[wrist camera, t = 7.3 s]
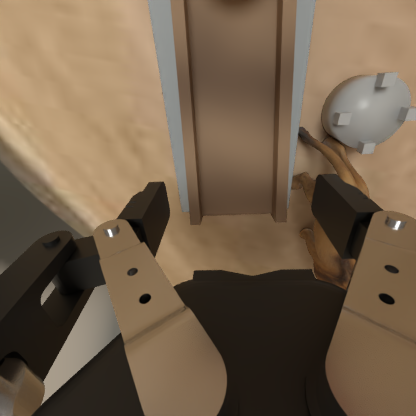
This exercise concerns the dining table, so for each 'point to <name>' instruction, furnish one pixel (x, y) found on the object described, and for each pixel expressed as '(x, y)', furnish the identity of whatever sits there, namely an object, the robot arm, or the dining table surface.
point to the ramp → (235, 103)
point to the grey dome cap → (367, 110)
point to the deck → (169, 82)
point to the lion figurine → (316, 241)
